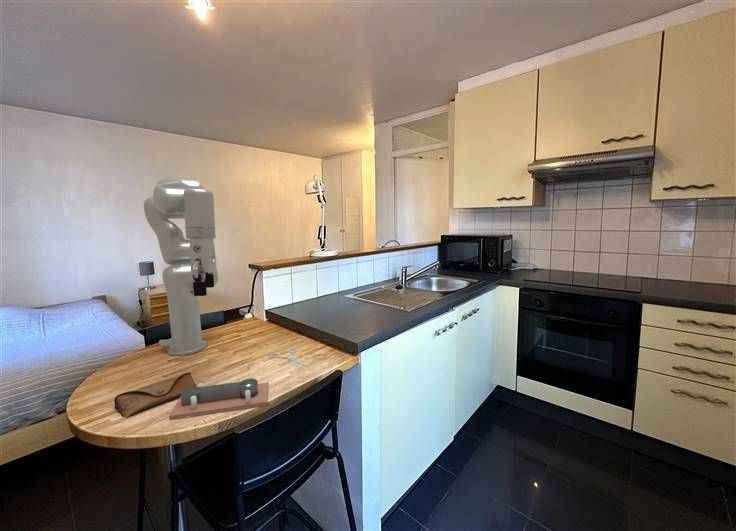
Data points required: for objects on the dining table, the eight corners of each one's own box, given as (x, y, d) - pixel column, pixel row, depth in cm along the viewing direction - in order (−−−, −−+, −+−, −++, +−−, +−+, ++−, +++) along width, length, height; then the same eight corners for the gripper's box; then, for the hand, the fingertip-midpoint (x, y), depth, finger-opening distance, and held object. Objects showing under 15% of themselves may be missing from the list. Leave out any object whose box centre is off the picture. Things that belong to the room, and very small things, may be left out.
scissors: (292, 346, 116) (321, 364, 101) (292, 348, 116) (321, 366, 101) (265, 354, 109) (291, 374, 94) (265, 356, 109) (292, 376, 94)
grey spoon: (180, 408, 76) (179, 397, 76) (186, 397, 81) (185, 387, 80) (257, 397, 81) (256, 386, 80) (258, 387, 85) (258, 377, 85)
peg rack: (169, 419, 73) (167, 404, 73) (182, 397, 83) (181, 383, 82) (266, 405, 79) (266, 390, 78) (268, 385, 88) (267, 372, 88)
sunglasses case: (121, 420, 73) (115, 392, 74) (117, 424, 77) (112, 397, 79) (202, 390, 86) (196, 367, 87) (195, 394, 90) (189, 372, 92)
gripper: (208, 235, 81) (212, 298, 84) (221, 231, 98) (223, 284, 100) (176, 235, 79) (181, 300, 82) (194, 231, 96) (198, 285, 98)
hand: (204, 291), depth 91 cm, fingers open, 9 cm apart
